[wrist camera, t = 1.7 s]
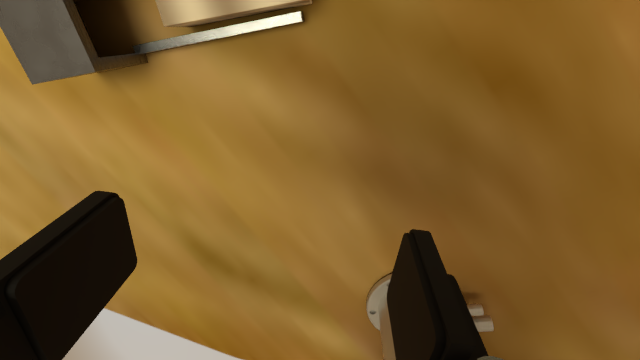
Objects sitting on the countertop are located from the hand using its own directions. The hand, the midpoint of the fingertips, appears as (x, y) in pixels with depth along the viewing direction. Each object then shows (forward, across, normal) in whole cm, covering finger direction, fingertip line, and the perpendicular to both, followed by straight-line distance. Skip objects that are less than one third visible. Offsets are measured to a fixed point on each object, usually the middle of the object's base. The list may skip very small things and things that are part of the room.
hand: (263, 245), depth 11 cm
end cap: (+25, +21, -4) cm, 33 cm away
